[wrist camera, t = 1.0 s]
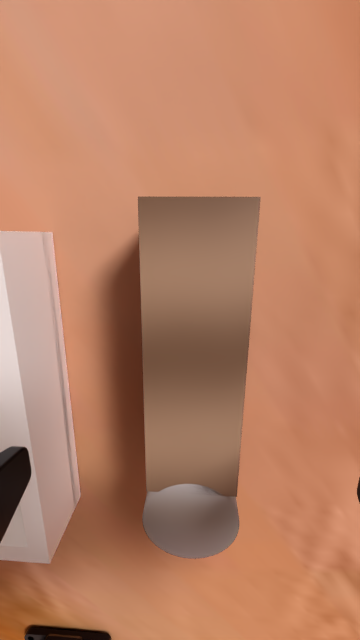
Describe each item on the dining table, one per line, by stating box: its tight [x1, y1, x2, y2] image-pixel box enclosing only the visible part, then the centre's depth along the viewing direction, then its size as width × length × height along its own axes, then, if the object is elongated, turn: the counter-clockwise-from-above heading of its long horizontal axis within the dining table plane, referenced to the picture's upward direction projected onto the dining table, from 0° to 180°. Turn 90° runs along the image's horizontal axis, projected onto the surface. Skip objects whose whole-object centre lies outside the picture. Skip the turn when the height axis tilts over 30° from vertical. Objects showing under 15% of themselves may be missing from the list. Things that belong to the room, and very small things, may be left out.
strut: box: [138, 197, 260, 559], centre depth 13 cm, size 14×4×5 cm, turn 0°
